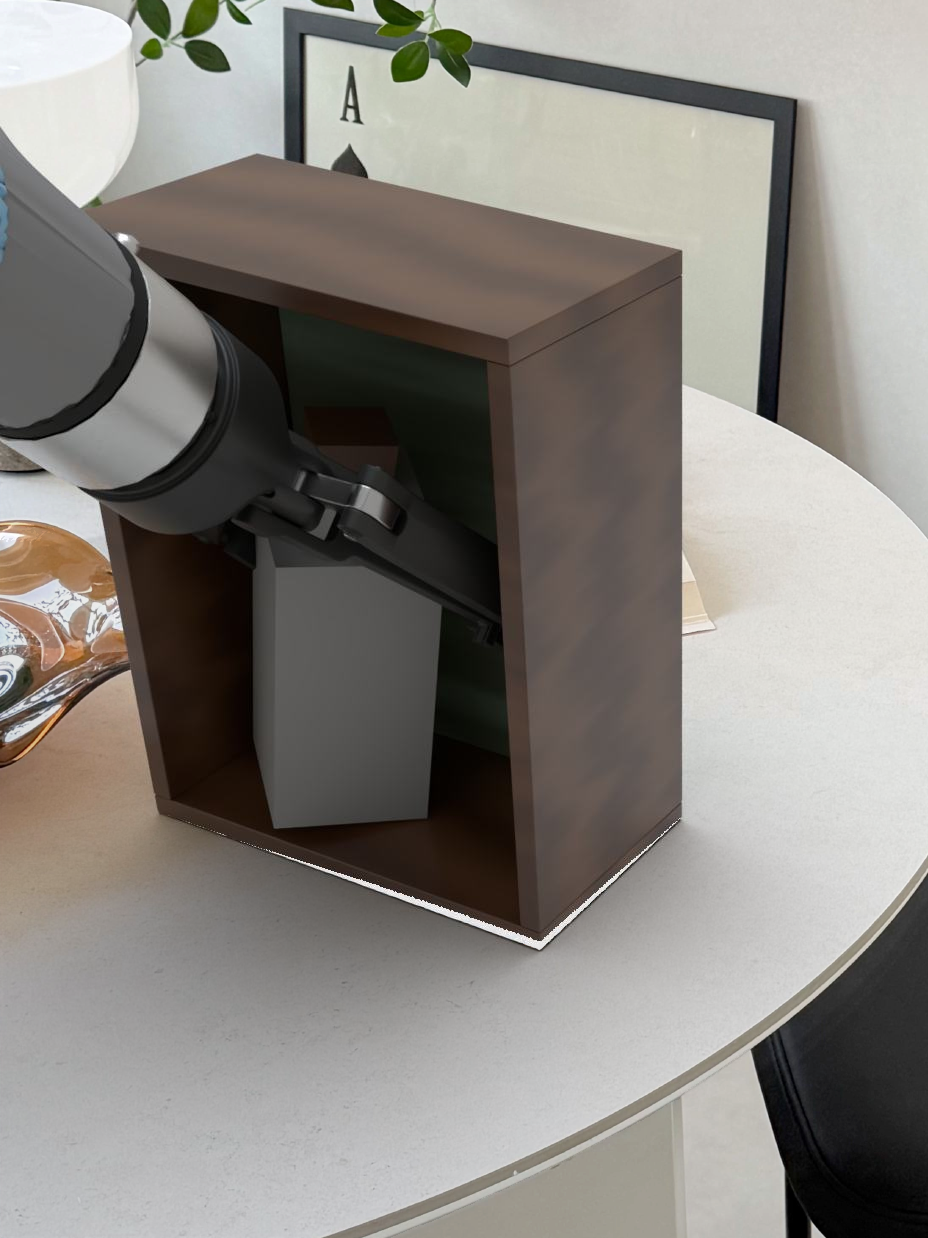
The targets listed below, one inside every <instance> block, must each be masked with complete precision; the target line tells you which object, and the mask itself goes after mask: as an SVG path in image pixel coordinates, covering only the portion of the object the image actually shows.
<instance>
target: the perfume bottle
mask: <svg viewBox="0 0 928 1238" xmlns="http://www.w3.org/2000/svg"><path fill="white" fill-rule="evenodd" d="M303 410H304V424H305V438H307V439H308V440H310V441H312V442H313V443H314V444H315V445H316V447H317V449H318V451H319V452H320V453H321V454H323V455H325V456H327V457H328V458H330V459H332V460H334V461H336V462H338V463H340V464H342V465H343V466H345V467H347V468H349V469H351V470H353V471H355V472H357V473H359V472H360V470H361V468H362V465H366V464H370V465H372V466H374V465H376V466H379V467H381V468H383V469H385V470H386V471H387V472H386V473H388V474H389V475H391V476H392V477H394V478H395V479H396V480H397V481H399V482H400V483H401V484H402V485H403V486H405V487H406V488H407V489H408V490H410V491H411V492H412V493H413V494H415V495H416V496H418V497H419V498H421V499H423V500H424V497H423V495H422V492H421V489H420V487H419V484H418V482H417V479H416V476H415V474H414V471H413V468H412V466H411V463H410V461H409V458H408V455H407V453H406V450H405V447H404V445H403V444H398V443H397V440H396V438H395V435H394V432H393V430H392V427H391V424H390V422H389V419H388V417H387V414H386V411H385V409H384V408H381V407H320V406H303ZM424 501H425V500H424ZM335 514H336V511H334V510H331V509H329V508H326V509H325V512H324V514H323V517H322V519H321V521H320V524H319V525H318V527H317V528H316V529H314V530H313V531H311V532H308V533H310V534H312V535H314V536H316V537H318V538H320V539H322V540H324V539H325V538H326V536H327V533H328V531H329V529H330V526H331V524H332V521H333V519H334V517H335ZM255 543H256V569H255V570H254V571H253V740H254V744H255V748H256V753H257V757H258V761H259V766H260V770H261V774H262V779H263V783H264V787H265V792H266V796H267V800H268V805H269V809H270V813H271V818H272V822H273V826H274V829H277V828H292V827H307V826H321V825H336V824H350V823H365V822H380V821H394V820H409V819H424V818H427V813H428V799H429V784H430V770H431V755H432V741H433V726H434V712H435V697H436V683H437V668H438V654H439V640H440V625H441V611H442V605H440V604H438V603H436V602H434V601H432V600H430V599H428V598H426V597H424V596H422V595H420V594H418V593H416V592H414V591H412V590H410V589H408V588H406V587H404V586H402V585H400V584H398V583H396V582H394V581H392V580H390V579H388V578H386V577H384V576H382V575H380V574H378V573H376V572H374V571H372V570H370V569H368V568H366V567H364V566H362V565H360V564H358V563H356V562H354V561H352V560H350V559H347V560H345V561H339V562H326V561H323V560H321V559H319V558H317V557H315V556H313V555H311V554H309V553H307V552H305V551H303V550H301V549H299V548H297V547H295V546H293V545H291V544H289V543H287V542H285V541H283V540H281V539H279V538H277V537H269V538H264V537H260V536H258V535H256V534H255Z"/></svg>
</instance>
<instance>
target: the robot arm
mask: <svg viewBox="0 0 928 1238" xmlns="http://www.w3.org/2000/svg"><path fill="white" fill-rule="evenodd" d="M83 211H84V210H82V209H81V208H80V206H79V205H77V204H76V203H75V202H73V200H71V199H70V198H69V197H68V196H67V195H66V194H65V193H64V192H62V191H61V190H60V189H59V188H58V187H56V185H55V184H54V183H52V182H51V181H50V180H49V179H48V178H47V177H46V176H45V175H43V174H42V173H41V172H40V171H39V170H38V169H37V168H36V167H35V166H33V164H32V163H31V162H30V161H29V160H28V159H27V157H25V156H24V154H22V153H21V151H20V150H19V149H18V148H17V147H16V146H15V144H14V143H13V142H12V140H11V139H10V138H9V137H8V135H7V134H6V132H5V130H3V128H2V127H1V126H0V442H1V443H2V444H4V445H6V446H7V447H9V448H10V449H12V450H14V451H15V452H16V453H18V454H20V455H22V456H23V457H25V458H26V459H27V460H30V461H31V462H33V463H34V464H36V465H38V466H39V467H41V468H43V469H44V470H46V471H47V472H48V473H51V474H52V475H54V476H56V477H58V478H59V479H60V480H62V481H64V482H66V483H68V484H70V485H72V486H75V487H77V488H78V489H79V490H80V491H82V492H83V493H85V494H87V495H88V496H89V497H91V498H93V499H94V500H96V501H97V502H98V503H99V502H101V503H102V504H104V505H106V506H107V507H109V508H110V509H112V510H113V511H115V512H117V513H118V514H120V515H121V516H123V517H125V518H126V519H128V520H129V521H131V522H133V523H134V524H136V525H138V526H140V527H142V528H144V529H147V530H150V531H153V532H157V533H163V534H174V535H177V534H190V533H191V534H193V536H194V537H196V538H198V540H199V541H201V542H203V543H206V544H209V543H211V544H216V545H218V544H219V542H220V540H222V541H223V542H225V543H226V545H225V548H224V550H223V551H224V552H226V553H227V554H229V555H230V556H232V557H233V558H235V559H236V560H238V561H239V562H241V563H242V564H244V565H246V566H247V567H249V568H250V569H252V570H253V571H254V570H255V569H256V543H255V534H256V535H258V536H260V537H264V538H269V537H277V538H279V539H281V540H283V541H285V542H287V543H289V544H291V545H293V546H295V547H297V548H299V549H301V550H303V551H305V552H307V553H309V554H311V555H313V556H315V557H317V558H319V559H321V560H323V561H326V562H339V561H345V560H347V559H350V560H352V561H354V562H356V563H358V564H360V565H362V566H364V567H366V568H368V569H370V570H372V571H374V572H376V573H378V574H380V575H382V576H384V577H386V578H388V579H390V580H392V581H394V582H396V583H398V584H400V585H402V586H404V587H406V588H408V589H410V590H412V591H414V592H416V593H418V594H420V595H422V596H424V597H426V598H428V599H430V600H432V601H434V602H436V603H438V604H440V605H442V606H444V607H446V608H448V609H450V610H452V611H454V612H456V613H458V614H460V615H462V616H464V617H466V618H468V619H467V621H466V624H465V626H466V627H468V628H469V629H470V630H472V631H473V632H475V633H476V634H475V636H474V639H473V642H475V643H478V644H480V645H483V646H486V647H490V648H492V647H495V648H496V649H497V650H499V651H500V652H502V653H503V654H504V645H503V629H502V612H501V596H500V579H499V563H498V546H497V545H496V544H495V543H493V542H491V541H490V540H488V539H486V538H485V537H483V536H481V535H480V534H478V533H477V532H475V531H473V530H472V529H470V528H468V527H467V526H465V525H463V524H462V523H460V522H459V521H457V520H455V519H454V518H452V517H450V516H449V515H447V514H445V513H444V512H442V511H441V510H439V509H437V508H436V507H434V506H432V505H431V504H429V503H427V502H426V501H424V500H423V499H421V498H419V497H418V496H416V495H415V494H413V493H412V492H411V491H410V490H408V489H407V488H406V487H405V486H403V485H402V484H401V483H400V482H399V481H397V480H396V479H395V478H394V477H392V476H391V475H389V474H388V473H386V472H387V471H386V470H385V469H383V468H381V467H379V466H376V465H374V466H372V465H370V464H366V465H362V468H361V470H360V472H359V473H357V472H355V471H353V470H351V469H349V468H347V467H345V466H343V465H342V464H340V463H338V462H336V461H334V460H332V459H330V458H328V457H327V456H325V455H323V454H321V453H320V452H319V451H318V449H317V447H316V445H315V444H314V443H313V442H312V441H310V440H308V439H307V438H305V437H303V436H301V435H299V434H297V433H295V432H293V431H291V430H289V429H288V425H287V420H286V413H285V406H284V401H283V397H282V393H281V390H280V388H279V385H278V383H277V381H276V379H275V377H274V375H273V373H272V372H271V370H270V369H269V368H268V366H267V365H266V364H265V363H264V362H263V361H262V360H261V359H260V358H259V357H258V356H257V355H256V354H255V353H254V352H252V351H251V350H250V349H249V348H248V347H246V346H245V345H244V344H243V343H242V342H240V341H239V340H238V339H237V338H236V337H235V336H233V335H232V334H231V333H230V332H229V331H227V330H226V329H225V328H224V327H223V326H221V325H220V324H219V323H218V322H217V321H216V320H214V319H213V318H212V317H210V316H209V315H208V314H206V313H205V312H203V311H201V310H199V309H197V308H196V307H195V306H194V304H193V303H192V302H191V301H189V300H188V299H187V298H186V297H185V296H183V295H182V294H181V293H180V292H179V291H177V290H176V289H175V288H174V287H173V286H171V285H170V284H169V283H168V282H167V281H165V280H164V279H163V278H162V277H160V276H159V275H158V274H157V273H155V272H154V271H153V270H152V269H151V268H149V267H148V266H147V265H146V264H145V263H143V262H142V261H141V260H140V259H139V258H138V257H139V255H140V243H139V242H138V241H137V240H136V239H135V238H134V237H133V236H132V235H128V234H123V233H114V234H113V235H111V234H110V233H109V232H108V231H106V230H105V229H104V228H102V227H101V226H99V225H98V224H97V223H96V222H95V221H94V220H92V219H91V218H90V217H89V216H88V215H87V214H86V213H85V212H83ZM326 508H329V509H331V510H334V511H336V514H335V517H334V519H333V521H332V524H331V526H330V529H329V531H328V533H327V536H326V538H325V539H324V540H322V539H320V538H318V537H316V536H314V535H312V534H310V533H308V532H311V531H313V530H314V529H316V528H317V527H318V525H319V524H320V521H321V519H322V517H323V514H324V512H325V509H326Z"/></svg>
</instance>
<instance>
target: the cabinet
mask: <svg viewBox="0 0 928 1238" xmlns="http://www.w3.org/2000/svg"><path fill="white" fill-rule="evenodd" d="M82 211H83V212H85V213H86V214H87V215H88V216H89V217H90V218H91V219H92V220H94V221H95V222H96V223H97V224H98V225H99V226H101V227H102V228H104V229H105V230H106V231H108V232H109V233H110V234H111V235H113V234H114V233H123V234H128V235H132V236H133V237H134V238H135V239H136V240H137V241H138V242H139V243H140V255H139V257H138V258H139V259H140V260H141V261H142V262H143V263H145V264H146V265H147V266H148V267H149V268H151V269H152V270H153V271H154V272H155V273H157V274H158V275H159V276H160V277H162V278H163V279H164V280H165V281H167V282H168V283H169V284H170V285H171V286H173V287H174V288H175V289H176V290H177V291H179V292H180V293H181V294H182V295H183V296H185V297H186V298H187V299H188V300H189V301H191V302H192V303H193V304H194V306H195V307H196V308H197V309H199V310H201V311H203V312H205V313H206V314H208V315H209V316H210V317H212V318H213V319H214V320H216V321H217V322H218V323H219V324H220V325H221V326H223V327H224V328H225V329H226V330H227V331H229V332H230V333H231V334H232V335H233V336H235V337H236V338H237V339H238V340H239V341H240V342H242V343H243V344H244V345H245V346H246V347H248V348H249V349H250V350H251V351H252V352H254V353H255V354H256V355H257V356H258V357H259V358H260V359H261V360H262V361H263V362H264V363H265V364H266V365H267V366H268V368H269V369H270V370H271V372H272V373H273V375H274V377H275V379H276V381H277V383H278V385H279V388H280V390H281V393H282V397H283V401H284V406H285V413H286V420H287V425H288V429H289V430H291V431H293V432H295V433H297V434H299V435H301V436H303V437H305V424H304V410H303V406H320V407H381V408H384V409H385V411H386V414H387V417H388V419H389V422H390V424H391V427H392V430H393V432H394V435H395V438H396V440H397V443H398V444H403V445H404V447H405V450H406V453H407V455H408V458H409V461H410V463H411V466H412V468H413V471H414V474H415V476H416V479H417V482H418V484H419V487H420V489H421V492H422V495H423V497H424V500H425V501H426V502H427V503H429V504H431V505H432V506H434V507H436V508H437V509H439V510H441V511H442V512H444V513H445V514H447V515H449V516H450V517H452V518H454V519H455V520H457V521H459V522H460V523H462V524H463V525H465V526H467V527H468V528H470V529H472V530H473V531H475V532H477V533H478V534H480V535H481V536H483V537H485V538H486V539H488V540H490V541H491V542H493V543H495V544H496V545H497V546H498V563H499V579H500V596H501V612H502V629H503V645H504V654H503V653H502V652H500V651H499V650H497V649H496V648H495V647H492V648H490V647H486V646H483V645H480V644H478V643H475V642H473V639H474V636H475V634H476V633H475V632H473V631H472V630H470V629H469V628H468V627H466V626H465V624H466V621H467V619H468V618H466V617H464V616H462V615H460V614H458V613H456V612H454V611H452V610H450V609H448V608H446V607H444V606H442V611H441V625H440V640H439V654H438V668H437V683H436V697H435V712H434V726H433V741H432V755H431V770H430V784H429V799H428V813H427V818H424V819H409V820H394V821H380V822H365V823H350V824H336V825H321V826H307V827H292V828H277V829H274V826H273V822H272V818H271V813H270V809H269V805H268V800H267V796H266V792H265V787H264V783H263V779H262V774H261V770H260V766H259V761H258V757H257V753H256V748H255V744H254V740H253V570H252V569H250V568H249V567H247V566H246V565H244V564H242V563H241V562H239V561H238V560H236V559H235V558H233V557H232V556H230V555H229V554H227V553H226V552H224V551H223V550H224V548H225V545H226V543H225V542H223V541H222V540H220V542H219V544H218V545H216V544H211V543H209V544H206V543H203V542H201V541H199V540H198V538H196V537H194V536H193V534H191V533H190V534H177V535H174V534H163V533H157V532H153V531H150V530H147V529H144V528H142V527H140V526H138V525H136V524H134V523H133V522H131V521H129V520H128V519H126V518H125V517H123V516H121V515H120V514H118V513H117V512H115V511H113V510H112V509H110V508H109V507H107V506H106V505H104V504H102V503H101V502H99V501H98V505H99V511H100V515H101V522H102V525H103V532H104V536H105V542H106V546H107V547H106V548H107V553H108V557H109V562H110V569H111V573H112V579H113V584H114V590H115V596H116V599H117V605H118V610H119V616H120V621H121V626H122V627H121V628H122V632H123V638H124V641H125V647H126V652H127V658H128V665H129V669H130V673H131V679H132V680H131V681H132V685H133V690H134V695H135V700H136V706H137V711H138V717H139V721H140V727H141V732H142V738H143V743H144V747H145V754H146V758H147V759H146V760H147V763H148V770H149V773H150V779H151V785H152V791H153V794H154V799H155V803H156V810H157V812H158V813H160V814H163V815H164V816H165V815H166V816H168V815H169V816H168V817H170V816H171V818H173V817H174V818H173V819H176V818H178V819H177V820H179V819H181V820H184V821H187V822H190V823H192V824H195V825H198V826H201V827H204V828H206V829H209V830H212V831H215V832H218V833H221V834H224V835H226V836H227V837H226V838H228V837H230V838H229V839H231V838H233V839H232V840H234V839H236V840H238V841H237V842H239V841H242V842H245V843H248V844H250V845H253V846H256V847H259V848H262V849H265V850H266V849H267V850H268V851H269V850H270V851H271V852H272V851H273V852H276V853H279V854H282V855H285V856H288V857H291V858H294V859H297V860H300V861H303V862H306V863H310V864H313V865H316V866H319V867H322V868H325V869H328V870H331V871H334V872H337V873H341V874H344V875H347V876H350V877H353V878H356V879H360V880H361V879H362V880H363V881H366V882H369V883H372V884H376V885H379V886H380V887H383V888H386V889H390V890H393V891H394V892H395V891H396V892H397V893H402V894H404V895H407V896H410V897H412V896H413V897H414V898H415V899H420V900H421V901H422V900H424V901H425V902H426V901H427V902H428V903H431V904H435V905H438V906H439V907H441V906H442V907H443V908H446V909H449V910H450V911H451V910H453V911H454V912H458V913H461V914H464V915H465V916H466V915H468V916H469V917H470V918H474V919H477V920H480V921H482V922H483V921H484V922H485V923H488V924H492V925H493V926H494V925H495V926H496V927H500V928H503V929H504V930H506V929H507V930H508V931H512V932H515V933H516V934H517V933H519V934H520V935H524V936H526V937H528V938H530V937H531V938H532V939H533V940H537V941H542V940H543V939H544V937H546V936H547V935H549V933H550V932H551V931H553V929H555V927H557V926H559V924H560V923H561V922H563V921H564V920H565V919H566V918H567V917H568V916H569V915H570V914H572V912H574V910H575V911H576V909H578V908H579V907H580V906H581V905H582V904H583V903H585V901H587V899H589V898H590V897H591V896H592V895H593V894H594V893H596V892H597V891H598V890H599V888H601V887H603V885H604V884H606V882H608V880H610V879H611V878H613V876H615V874H617V873H618V872H620V870H621V869H623V868H624V867H625V866H626V865H628V863H630V862H631V860H633V859H634V858H636V856H638V855H639V854H641V852H642V851H644V849H646V848H647V846H649V845H650V844H652V843H653V842H654V841H655V840H656V839H657V838H658V837H660V836H661V834H663V833H664V831H666V830H667V829H669V827H670V826H672V824H673V823H675V822H676V821H678V819H679V818H681V817H682V818H683V250H682V249H680V248H674V247H671V246H666V245H661V244H657V243H654V242H653V243H652V242H648V241H644V240H639V239H635V238H631V237H626V236H621V235H618V234H613V233H608V232H605V231H600V230H596V229H591V228H587V227H583V226H578V225H574V224H569V223H564V222H562V221H561V222H560V221H556V220H551V219H547V218H543V217H539V216H534V215H530V214H525V213H520V212H516V211H512V210H507V209H504V208H499V207H495V206H492V205H491V206H490V205H485V204H482V203H478V202H473V201H468V200H465V199H459V198H456V197H452V196H451V197H450V196H447V195H441V194H439V193H438V194H437V193H433V192H429V191H424V190H420V189H415V188H411V187H408V186H406V187H405V186H402V185H399V184H393V183H389V182H385V181H380V180H376V179H371V178H369V177H364V176H358V175H353V174H350V173H345V172H341V171H336V170H332V169H328V168H323V167H319V166H314V165H310V164H306V163H301V162H297V161H292V160H288V159H283V158H279V157H276V156H275V157H274V156H270V155H266V154H262V153H254V154H250V155H247V156H245V157H242V158H239V159H235V160H233V161H230V162H227V163H224V164H220V165H217V166H214V167H212V168H208V169H206V170H201V171H200V172H199V171H198V172H196V173H193V174H191V175H187V176H184V177H182V178H178V179H175V180H172V181H169V182H166V183H164V184H160V185H157V186H154V187H151V188H148V189H145V190H142V191H139V192H136V193H133V194H130V195H127V196H124V197H120V198H118V199H115V200H111V201H108V202H105V203H102V204H100V205H95V206H93V207H90V208H88V209H85V210H82ZM181 820H180V821H181ZM184 821H183V822H184ZM187 822H186V823H187ZM190 823H189V824H190ZM192 824H191V825H192ZM195 825H194V826H195ZM198 826H197V827H198ZM201 827H200V828H201ZM206 829H205V830H206ZM209 830H208V831H209ZM212 831H211V832H212ZM236 840H235V841H236ZM242 842H241V843H242ZM245 843H244V844H245ZM250 845H249V846H250ZM253 846H252V847H253ZM256 847H255V848H256Z"/></svg>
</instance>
